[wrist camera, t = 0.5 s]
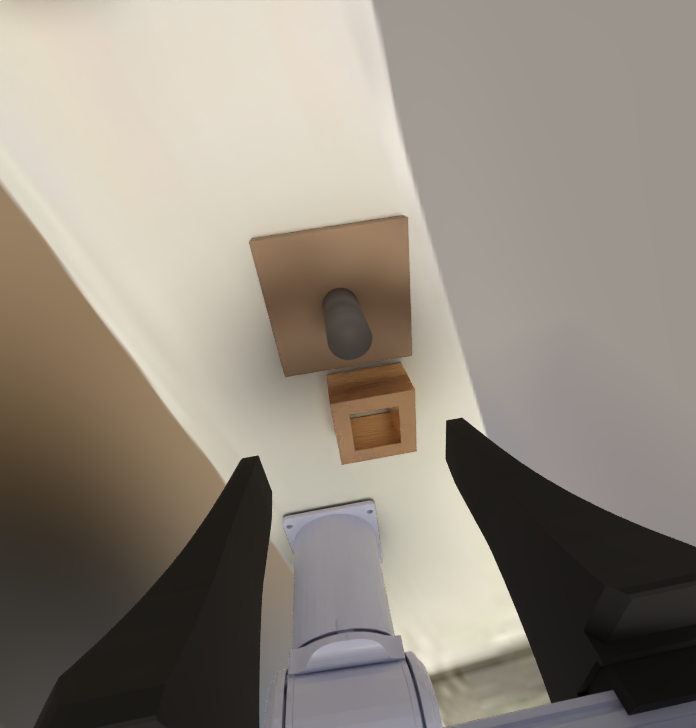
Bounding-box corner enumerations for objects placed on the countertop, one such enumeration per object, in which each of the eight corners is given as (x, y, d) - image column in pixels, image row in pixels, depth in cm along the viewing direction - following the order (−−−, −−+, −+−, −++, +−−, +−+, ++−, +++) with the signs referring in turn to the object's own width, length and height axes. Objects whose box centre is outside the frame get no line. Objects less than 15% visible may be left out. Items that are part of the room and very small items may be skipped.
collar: (403, 420, 24) (416, 451, 22) (337, 431, 24) (341, 464, 22) (400, 362, 22) (414, 389, 19) (326, 375, 22) (330, 404, 19)
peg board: (407, 348, 21) (437, 397, 17) (285, 368, 21) (280, 424, 16) (402, 215, 17) (440, 230, 13) (251, 238, 17) (232, 262, 12)
